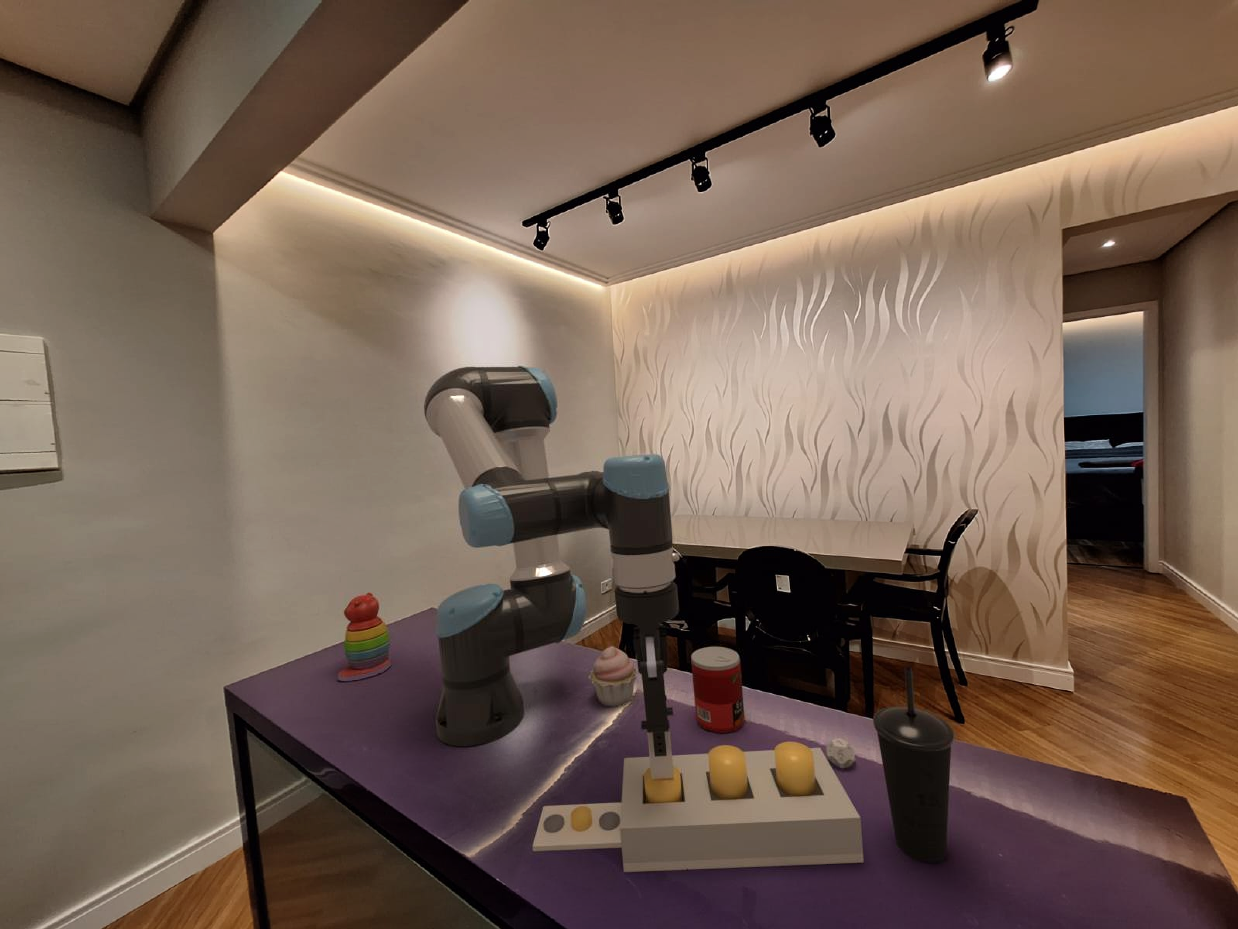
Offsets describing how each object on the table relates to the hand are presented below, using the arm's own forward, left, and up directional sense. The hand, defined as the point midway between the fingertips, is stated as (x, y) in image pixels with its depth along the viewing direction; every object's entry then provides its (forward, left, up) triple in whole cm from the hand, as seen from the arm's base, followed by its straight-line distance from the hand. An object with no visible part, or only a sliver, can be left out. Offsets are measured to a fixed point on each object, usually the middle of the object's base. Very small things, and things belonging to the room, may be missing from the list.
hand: (662, 774), depth 59 cm
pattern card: (-11, +1, -7) cm, 13 cm away
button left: (0, 0, -4) cm, 4 cm away
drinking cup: (+28, -4, -7) cm, 29 cm away
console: (+8, 0, -7) cm, 10 cm away
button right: (+16, 0, -2) cm, 16 cm away
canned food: (+10, +22, -7) cm, 25 cm away
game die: (+25, +10, -7) cm, 28 cm away
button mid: (+8, 0, -2) cm, 8 cm away
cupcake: (-8, +31, -7) cm, 33 cm away
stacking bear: (-67, +50, -7) cm, 84 cm away
